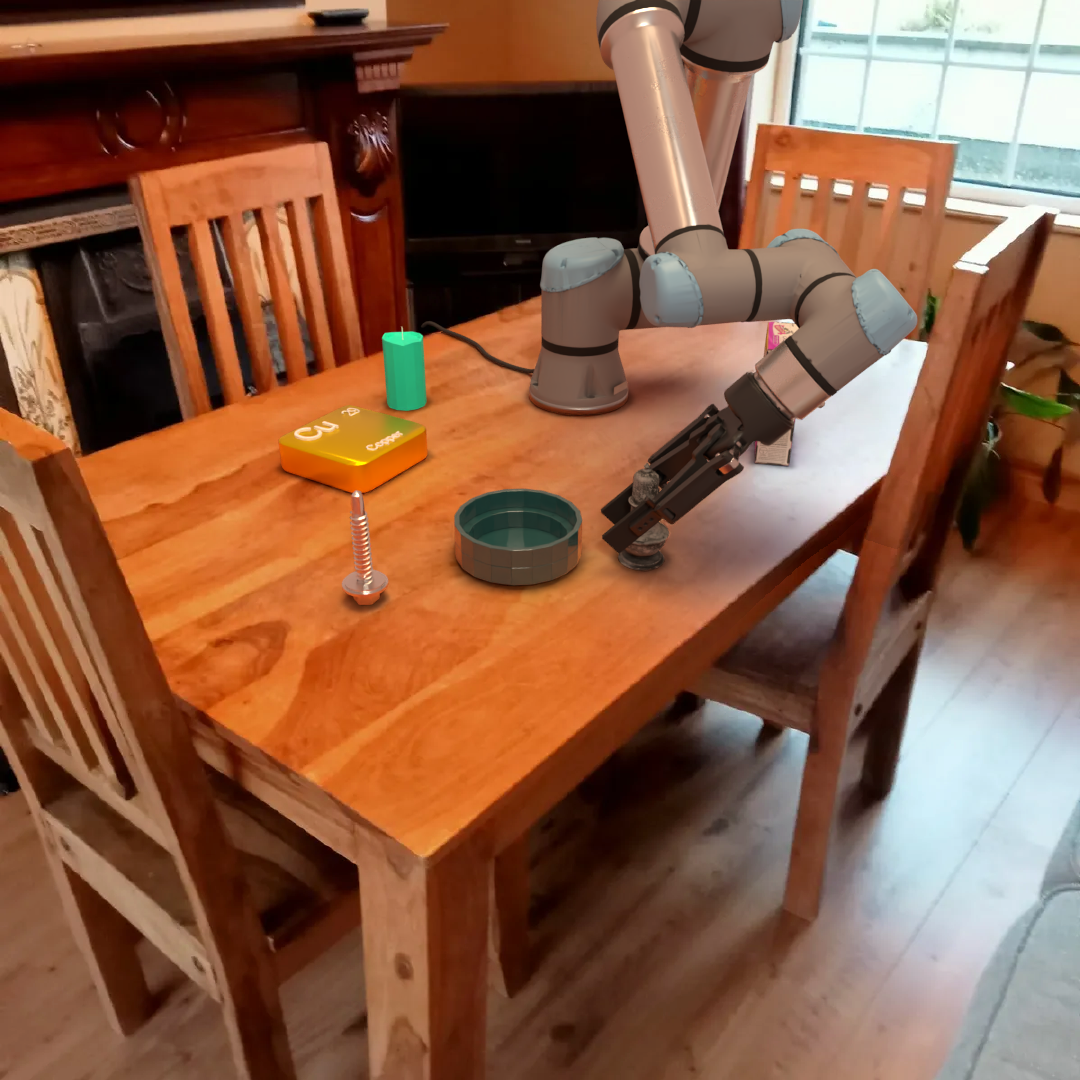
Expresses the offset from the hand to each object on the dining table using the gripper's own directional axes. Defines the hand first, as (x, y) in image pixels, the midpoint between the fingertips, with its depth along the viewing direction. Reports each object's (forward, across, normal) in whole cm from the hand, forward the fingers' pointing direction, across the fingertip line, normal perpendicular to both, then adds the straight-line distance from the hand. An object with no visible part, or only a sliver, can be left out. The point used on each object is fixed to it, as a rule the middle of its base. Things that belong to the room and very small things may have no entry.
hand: (609, 530), depth 113 cm
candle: (+23, +45, +18) cm, 54 cm away
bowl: (+10, 0, +5) cm, 11 cm away
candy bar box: (-14, +30, -19) cm, 38 cm away
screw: (+21, -9, +16) cm, 28 cm away
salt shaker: (0, 0, -5) cm, 5 cm away
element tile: (+26, +24, +21) cm, 41 cm away
